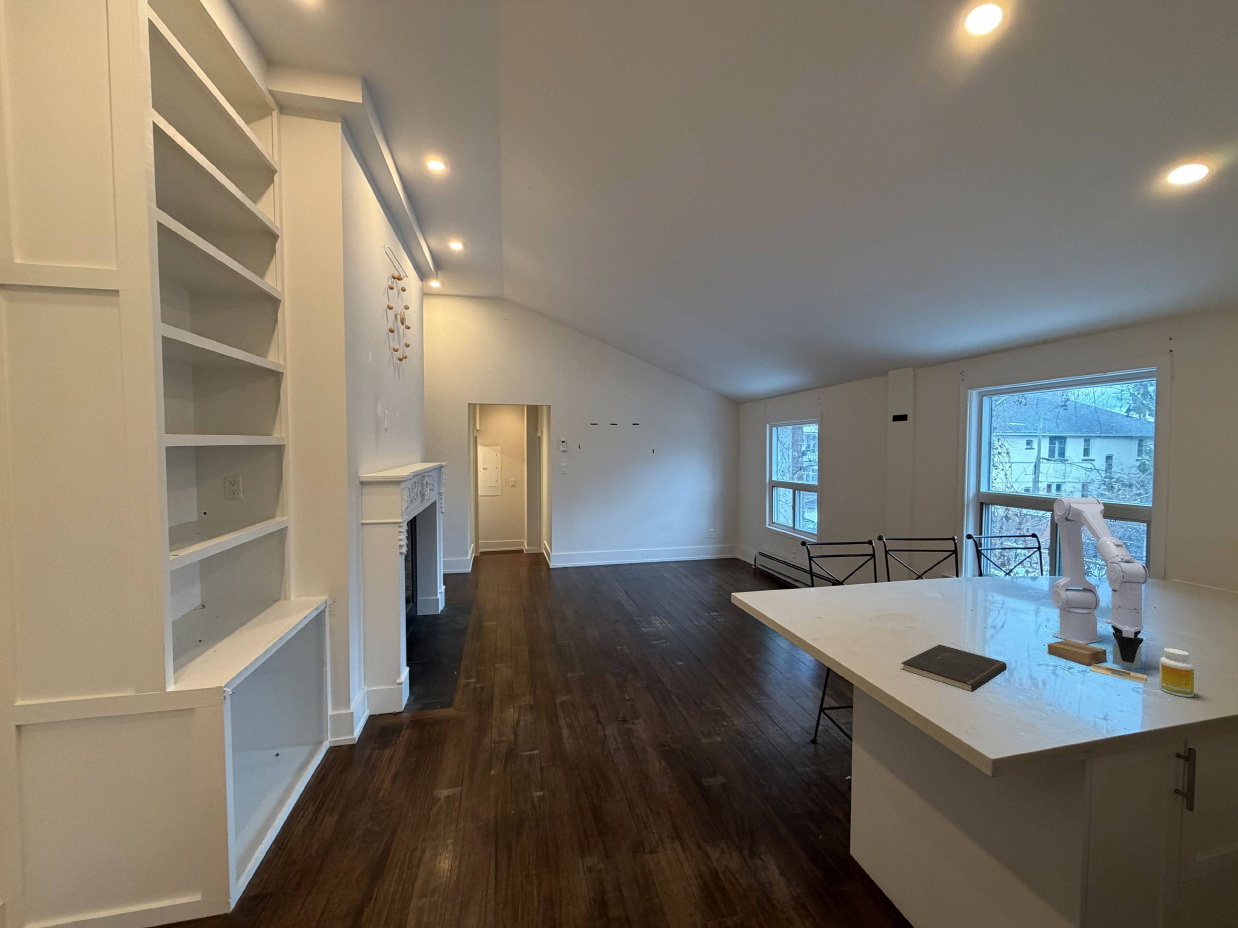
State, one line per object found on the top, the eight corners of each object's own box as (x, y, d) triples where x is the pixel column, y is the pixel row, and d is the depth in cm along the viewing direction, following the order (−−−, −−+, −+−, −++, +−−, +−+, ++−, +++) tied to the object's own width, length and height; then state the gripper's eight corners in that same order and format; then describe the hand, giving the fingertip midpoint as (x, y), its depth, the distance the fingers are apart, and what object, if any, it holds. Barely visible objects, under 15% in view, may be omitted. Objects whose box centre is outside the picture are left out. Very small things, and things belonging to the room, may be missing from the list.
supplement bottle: (1198, 699, 112) (1198, 657, 113) (1164, 693, 115) (1164, 652, 115) (1188, 690, 117) (1187, 649, 117) (1155, 685, 120) (1155, 645, 120)
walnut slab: (1067, 650, 143) (1066, 639, 143) (1106, 660, 135) (1106, 649, 135) (1048, 654, 140) (1047, 643, 140) (1087, 665, 131) (1087, 653, 131)
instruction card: (1092, 663, 133) (1092, 662, 133) (1146, 675, 125) (1146, 674, 125) (1089, 670, 128) (1089, 669, 128) (1145, 683, 121) (1145, 682, 121)
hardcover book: (901, 671, 129) (901, 662, 129) (939, 652, 142) (939, 644, 142) (972, 694, 116) (972, 684, 116) (1006, 671, 129) (1006, 662, 129)
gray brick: (1121, 661, 135) (1121, 641, 135) (1140, 667, 131) (1140, 646, 131) (1112, 663, 133) (1112, 643, 133) (1132, 669, 129) (1132, 648, 129)
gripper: (1105, 599, 140) (1105, 646, 140) (1106, 609, 130) (1106, 661, 129) (1141, 603, 135) (1141, 653, 135) (1145, 614, 125) (1145, 668, 125)
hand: (1126, 657), depth 132 cm, fingers open, 7 cm apart
